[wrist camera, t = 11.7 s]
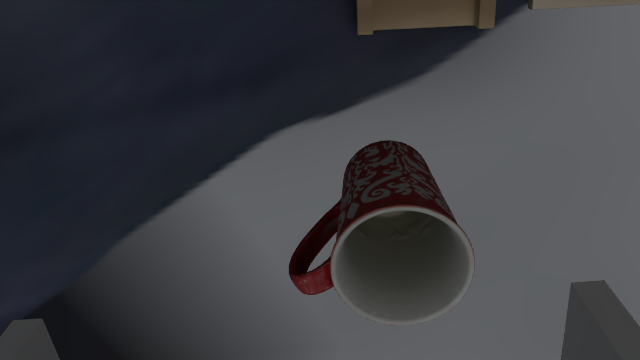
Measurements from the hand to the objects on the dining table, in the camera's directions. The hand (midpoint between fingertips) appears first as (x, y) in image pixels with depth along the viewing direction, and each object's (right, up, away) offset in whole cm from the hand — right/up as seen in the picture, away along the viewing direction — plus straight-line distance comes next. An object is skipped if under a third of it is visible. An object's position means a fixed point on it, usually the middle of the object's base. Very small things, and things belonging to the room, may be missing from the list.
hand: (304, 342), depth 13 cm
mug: (+4, +4, +32) cm, 33 cm away
